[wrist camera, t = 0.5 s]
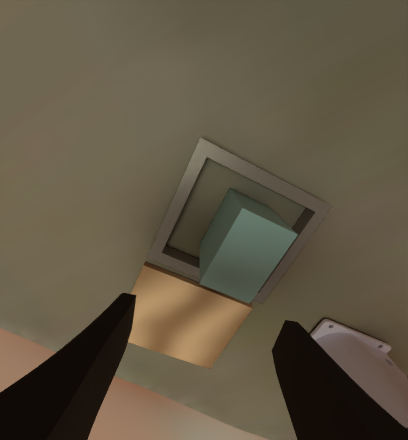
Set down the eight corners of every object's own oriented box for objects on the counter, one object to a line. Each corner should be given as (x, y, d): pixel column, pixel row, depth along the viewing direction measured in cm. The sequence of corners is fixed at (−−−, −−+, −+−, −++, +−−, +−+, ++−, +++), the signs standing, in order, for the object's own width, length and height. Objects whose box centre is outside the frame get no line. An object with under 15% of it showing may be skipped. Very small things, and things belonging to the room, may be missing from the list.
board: (251, 304, 22) (252, 308, 22) (209, 363, 25) (209, 368, 25) (145, 261, 21) (143, 265, 20) (113, 331, 24) (111, 336, 23)
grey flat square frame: (322, 201, 19) (332, 206, 17) (258, 293, 22) (262, 304, 21) (200, 138, 17) (200, 137, 15) (150, 249, 20) (146, 257, 19)
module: (269, 207, 19) (298, 234, 13) (236, 259, 21) (249, 303, 15) (229, 187, 18) (242, 208, 13) (199, 244, 20) (199, 283, 14)
